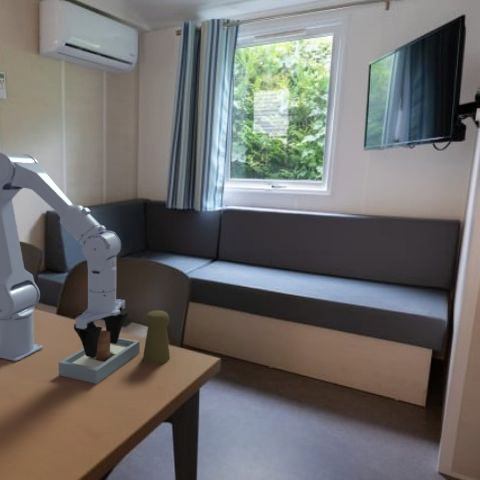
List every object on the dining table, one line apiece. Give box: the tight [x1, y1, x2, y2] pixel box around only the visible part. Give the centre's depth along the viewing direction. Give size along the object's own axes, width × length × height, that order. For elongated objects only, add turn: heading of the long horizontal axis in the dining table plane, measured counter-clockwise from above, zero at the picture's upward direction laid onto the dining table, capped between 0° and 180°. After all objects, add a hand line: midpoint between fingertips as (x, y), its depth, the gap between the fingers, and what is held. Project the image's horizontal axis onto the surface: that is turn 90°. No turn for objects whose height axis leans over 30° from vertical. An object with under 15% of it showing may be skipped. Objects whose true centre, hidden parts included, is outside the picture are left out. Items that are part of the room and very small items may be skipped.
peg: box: [96, 329, 110, 362], centre depth 91 cm, size 3×3×7 cm
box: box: [58, 336, 141, 385], centre depth 91 cm, size 9×16×3 cm, turn 162°
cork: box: [142, 309, 171, 365], centre depth 94 cm, size 6×6×11 cm
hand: (102, 349), depth 91 cm, fingers open, 7 cm apart
